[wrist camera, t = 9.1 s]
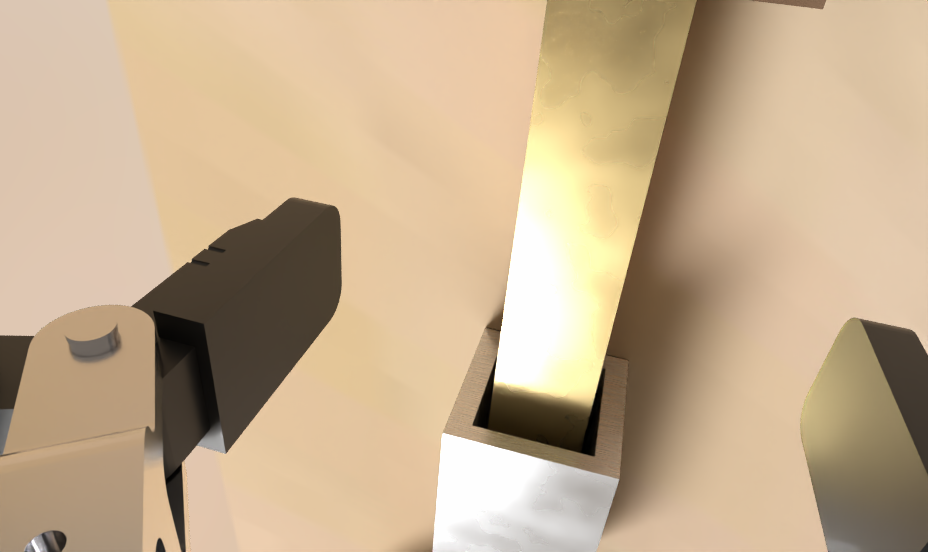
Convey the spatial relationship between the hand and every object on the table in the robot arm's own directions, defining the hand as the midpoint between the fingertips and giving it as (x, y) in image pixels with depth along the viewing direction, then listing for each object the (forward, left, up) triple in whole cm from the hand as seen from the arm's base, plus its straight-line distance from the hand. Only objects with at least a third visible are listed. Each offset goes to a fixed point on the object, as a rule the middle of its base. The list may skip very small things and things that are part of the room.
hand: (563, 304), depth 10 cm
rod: (0, +4, -15) cm, 16 cm away
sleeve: (0, +20, -16) cm, 26 cm away
